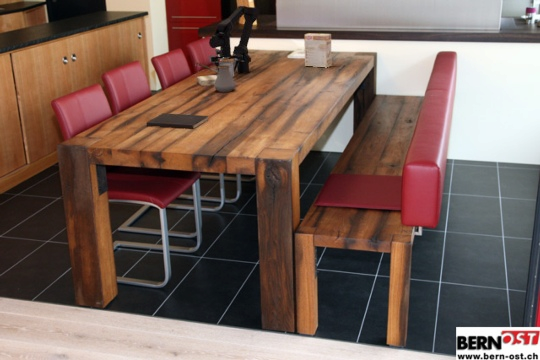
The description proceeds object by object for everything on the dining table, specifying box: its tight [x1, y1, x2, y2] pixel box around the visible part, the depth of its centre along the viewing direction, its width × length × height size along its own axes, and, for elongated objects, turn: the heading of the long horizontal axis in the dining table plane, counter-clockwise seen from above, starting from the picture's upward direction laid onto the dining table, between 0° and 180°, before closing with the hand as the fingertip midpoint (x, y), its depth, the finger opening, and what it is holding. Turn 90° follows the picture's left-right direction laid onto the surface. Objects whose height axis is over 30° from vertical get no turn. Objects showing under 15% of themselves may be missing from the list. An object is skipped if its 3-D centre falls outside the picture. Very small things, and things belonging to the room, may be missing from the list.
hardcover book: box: [146, 112, 209, 130], centre depth 314 cm, size 16×23×2 cm
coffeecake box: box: [304, 32, 332, 69], centre depth 422 cm, size 15×7×20 cm, turn 58°
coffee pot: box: [194, 62, 237, 93], centre depth 371 cm, size 21×12×15 cm, turn 79°
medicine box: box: [219, 60, 235, 78], centre depth 405 cm, size 8×4×9 cm, turn 84°
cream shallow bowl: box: [196, 74, 218, 87], centre depth 392 cm, size 12×12×3 cm
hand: (226, 72), depth 406 cm, fingers open, 9 cm apart
